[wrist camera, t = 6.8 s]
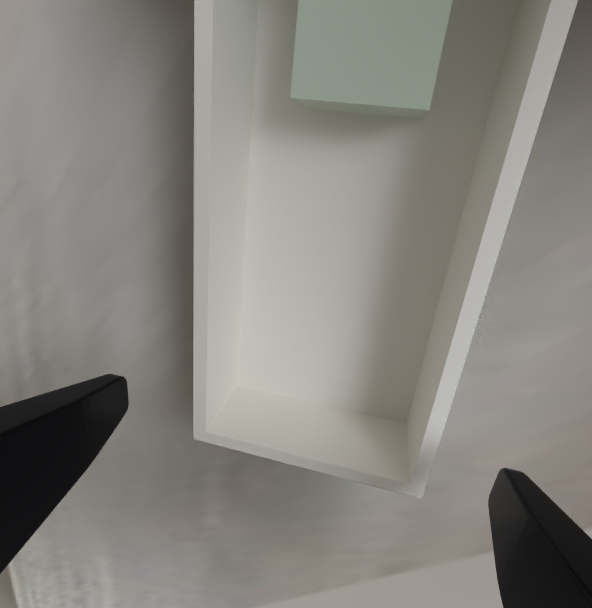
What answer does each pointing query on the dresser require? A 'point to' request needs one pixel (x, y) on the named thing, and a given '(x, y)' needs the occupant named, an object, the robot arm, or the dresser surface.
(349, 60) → the soap bar
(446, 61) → the tray
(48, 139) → the dresser surface
